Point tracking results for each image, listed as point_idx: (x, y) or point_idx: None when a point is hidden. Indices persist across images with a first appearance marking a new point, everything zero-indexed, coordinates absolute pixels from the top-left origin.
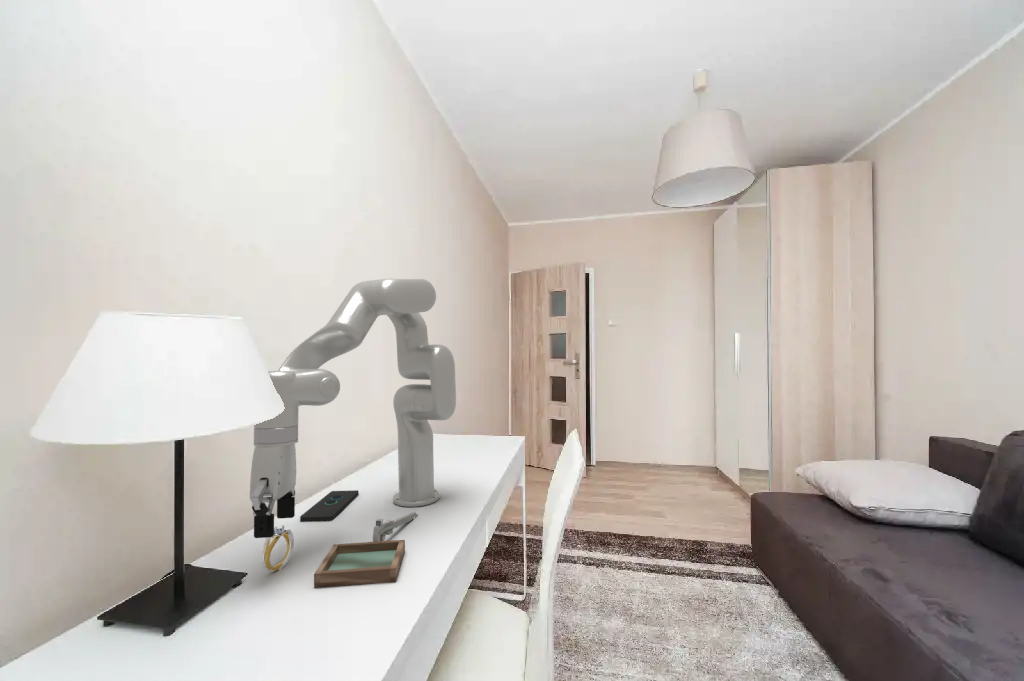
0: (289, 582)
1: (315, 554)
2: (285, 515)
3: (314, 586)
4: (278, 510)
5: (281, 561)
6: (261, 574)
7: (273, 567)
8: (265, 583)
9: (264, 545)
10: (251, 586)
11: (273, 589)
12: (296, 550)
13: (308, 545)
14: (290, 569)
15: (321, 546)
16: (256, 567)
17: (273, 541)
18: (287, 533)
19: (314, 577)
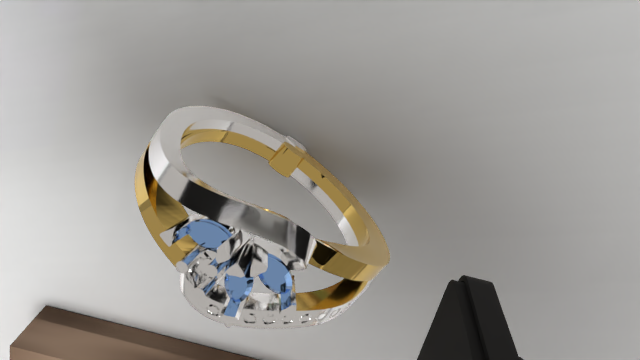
0: (125, 211)
1: (407, 308)
2: (426, 355)
3: (42, 311)
4: (457, 338)
5: (319, 171)
6: (262, 66)
7: (234, 142)
8: (145, 103)
9: (160, 152)
10: (130, 36)
11: (72, 149)
12: (520, 218)
13: (560, 275)
14: (269, 205)
15: None
16: (374, 20)
17: (149, 223)
18: (324, 290)
19: (18, 337)
